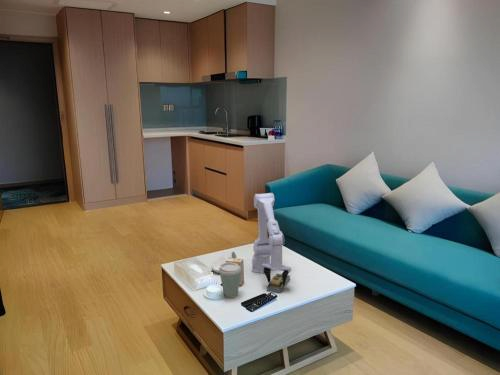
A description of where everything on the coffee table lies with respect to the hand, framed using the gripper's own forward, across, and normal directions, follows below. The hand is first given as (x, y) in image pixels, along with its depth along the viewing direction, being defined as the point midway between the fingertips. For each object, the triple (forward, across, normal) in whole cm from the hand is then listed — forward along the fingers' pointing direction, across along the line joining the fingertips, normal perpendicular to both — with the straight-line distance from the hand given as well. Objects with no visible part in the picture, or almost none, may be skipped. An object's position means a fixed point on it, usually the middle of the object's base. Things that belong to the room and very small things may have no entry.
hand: (276, 283), depth 190 cm
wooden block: (+3, 0, 0) cm, 3 cm away
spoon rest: (+3, -35, +15) cm, 38 cm away
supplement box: (+3, -22, -2) cm, 22 cm away
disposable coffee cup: (+3, -18, -14) cm, 23 cm away
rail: (+3, 0, +4) cm, 4 cm away
